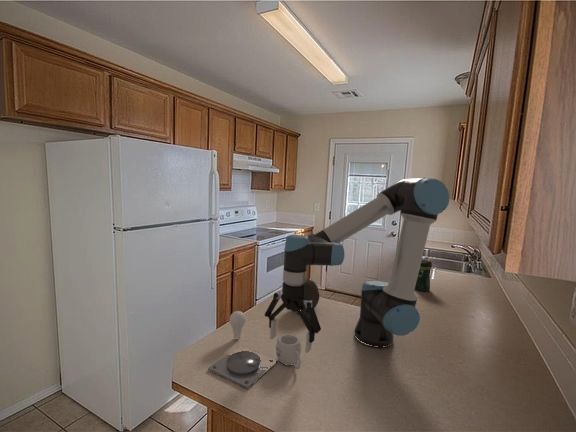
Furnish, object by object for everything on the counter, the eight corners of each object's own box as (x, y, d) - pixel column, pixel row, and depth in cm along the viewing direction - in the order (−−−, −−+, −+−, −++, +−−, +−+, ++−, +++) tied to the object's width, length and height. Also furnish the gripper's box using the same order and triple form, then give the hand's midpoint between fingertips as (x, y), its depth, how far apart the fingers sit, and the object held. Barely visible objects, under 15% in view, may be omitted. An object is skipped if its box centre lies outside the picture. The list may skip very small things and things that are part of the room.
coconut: (325, 312, 140) (326, 282, 139) (301, 319, 132) (303, 287, 131) (306, 302, 152) (308, 274, 150) (284, 307, 144) (285, 278, 142)
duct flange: (277, 362, 99) (277, 357, 99) (247, 389, 86) (247, 383, 85) (240, 347, 107) (240, 342, 107) (207, 370, 94) (208, 364, 93)
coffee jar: (431, 290, 178) (434, 260, 176) (424, 292, 174) (427, 262, 172) (417, 285, 186) (419, 257, 184) (409, 287, 182) (412, 258, 180)
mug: (271, 357, 102) (272, 336, 101) (292, 351, 106) (293, 331, 105) (287, 378, 92) (289, 354, 91) (310, 370, 96) (311, 347, 95)
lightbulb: (227, 336, 115) (228, 309, 114) (242, 333, 117) (243, 307, 116) (230, 344, 109) (231, 316, 108) (246, 341, 112) (247, 313, 111)
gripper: (334, 287, 93) (329, 351, 95) (269, 272, 106) (265, 328, 108) (324, 294, 87) (319, 362, 89) (256, 277, 99) (253, 336, 101)
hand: (290, 344), depth 98 cm, fingers open, 13 cm apart
